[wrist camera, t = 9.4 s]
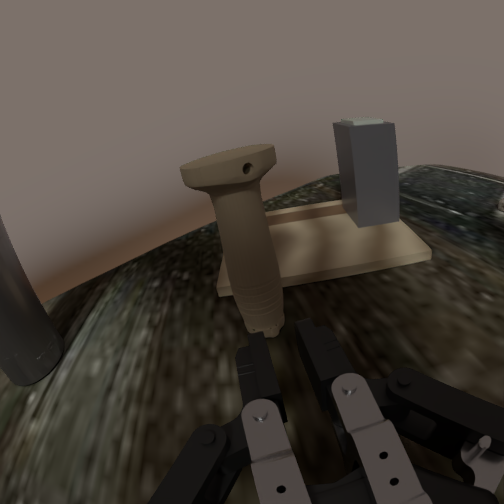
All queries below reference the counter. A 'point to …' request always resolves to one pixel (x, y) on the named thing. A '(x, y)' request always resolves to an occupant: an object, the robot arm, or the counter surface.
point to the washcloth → (501, 205)
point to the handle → (244, 230)
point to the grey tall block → (368, 170)
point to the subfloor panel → (333, 245)
